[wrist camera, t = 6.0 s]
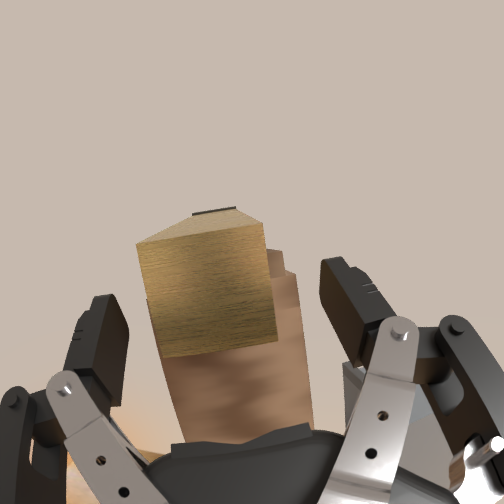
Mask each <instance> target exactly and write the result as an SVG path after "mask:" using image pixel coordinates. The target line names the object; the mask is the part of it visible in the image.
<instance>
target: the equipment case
mask: <svg viewBox="0 0 504 504" xmlns="http://www.w3.org/2000/svg"><path fill="white" fill-rule="evenodd" d="M342 366H343V381H344V397H345V422H346V428H347V425H348V423H349V420H350V418H351V415H352V412H353V409H354V406H355V404H356V401H357V398H358V395H359V392H360V389H361V385H362V382H363V379H364V376H365V373H366V370H365V368H364V367H363V368H360V369H358V368H353V366H352V364H351V362H350V361H348V362H345V363H342ZM452 458H453V455H452V452H451V450H450V448H449V445H448V443H447V441H446V439H445V436H444V434H443V432H442V430H441V428H440V425H439V423H438V421H437V419H436V417H435V415H434V413H433V411H432V408H431V406H430V404H429V402H428V400H427V398H426V396H425V394H424V392H423V390H422V388H421V386H420V384H416V390H415V396H414V401H413V406H412V411H411V416H410V420H409V425H408V429H407V433H406V437H405V441H404V445H403V449H402V453H401V456H400V460H399V463H398V466H400V467H402V468H404V469H406V470H408V471H410V472H412V473H414V474H416V475H418V476H420V477H422V478H424V479H427V480H429V481H431V482H433V483H435V484H437V485H440V486H442V487H444V488H446V489H448V490H449V487H450V480H449V464H450V462H451V460H452Z"/></svg>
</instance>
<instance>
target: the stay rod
mask: <svg viewBox="0 0 504 504" xmlns="http://www.w3.org/2000/svg"><path fill="white" fill-rule="evenodd" d="M264 238H265V237H264V231H263V224H262V223H261V222H259V221H257V220H256V219H254V218H252V217H250V216H248V215H246V214H244V213H242V212H240V211H238V210H237V209H236V206H234V207H228V208H221V209H215V210H209V211H203V212H197V213H192V216H191V217H189V218H187V219H185V220H183V221H181V222H179V223H177V224H175V225H173V226H171V227H169V228H167V229H165V230H163V231H161V232H159V233H157V234H155V235H153V236H151V237H149V238H147V239H145V240H143V241H141V242H139V243H137V244H136V247H137V252H138V257H139V263H140V267H141V272H142V277H143V281H144V285H145V290H146V294H147V299H148V303H149V307H150V311H151V315H152V319H153V323H154V327H155V330H156V334H157V338H158V341H159V345H160V348H161V352H162V355H163V358H172V357H180V356H189V355H197V354H204V353H211V352H218V351H225V350H232V349H238V348H244V347H250V346H256V345H262V344H267V343H273V342H278V333H277V325H276V318H275V310H274V303H273V295H272V288H271V281H270V273H269V266H268V259H267V252H266V245H265V239H264Z"/></svg>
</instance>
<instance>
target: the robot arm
mask: <svg viewBox="0 0 504 504" xmlns="http://www.w3.org/2000/svg"><path fill="white" fill-rule="evenodd" d="M319 295H320V300H321V304H322V306H323V308H324V310H325V312H326V314H327V316H328V318H329V320H330V322H331V324H332V326H333V328H334V330H335V332H336V334H337V336H338V338H339V340H340V342H341V344H342V346H343V348H344V350H345V352H346V354H347V356H348V358H349V360H350V362H351V364H352V366H353V368H357V367H360V366H364V368H365V370H366V373H365V376H364V379H363V382H362V385H361V389H360V392H359V395H358V398H357V401H356V404H355V406H354V409H353V412H352V415H351V418H350V420H349V423H348V425H347V428H346V430H345V433H344V435H341V434H338V433H334V432H330V431H325V430H311V428H310V425H309V422H306V423H302V424H298V425H294V426H290V427H285V428H281V429H276V430H273V431H271V432H269V433H266V434H264V435H262V436H260V437H257V438H255V439H253V440H250V441H248V442H245V443H243V444H229V443H217V442H208V441H200V442H190V443H178V444H171V453H168V454H166V455H163V456H161V457H159V458H158V459H156V460H154V461H153V462H152V463H149V462H148V461H147V460H146V459H145V458H144V457H143V456H142V455H141V454H140V453H139V452H138V450H137V449H136V448H135V447H134V446H133V444H132V443H131V442H130V440H129V439H128V438H127V437H126V436H125V434H124V433H123V431H122V430H121V429H120V427H119V426H118V425H117V423H116V422H115V421H114V419H113V418H112V417H111V415H110V408H111V407H115V406H116V407H117V406H121V400H122V389H123V380H124V371H125V364H126V355H127V348H128V342H129V328H128V325H127V322H126V319H125V317H124V315H123V313H122V311H121V309H120V306H119V304H118V302H117V300H116V297H115V296H114V295H113V294H108V295H101V296H95V297H94V298H93V301H92V304H91V307H90V310H88V311H85V312H84V313H83V314H82V316H81V317H80V318H79V319H78V321H77V324H76V327H75V330H74V331H75V333H73V337H72V341H71V343H70V347H69V350H68V353H67V357H66V360H65V364H64V368H63V371H61V372H58V373H57V374H55V375H54V376H53V377H52V378H51V379H50V381H49V382H48V384H47V387H46V389H44V390H41V391H38V392H35V393H32V394H29V393H28V392H27V391H26V390H25V389H24V388H23V387H20V386H15V387H12V388H11V389H9V390H8V391H7V392H6V393H5V394H4V396H3V398H2V401H1V404H0V504H66V472H67V451H68V452H69V454H70V456H71V458H72V459H73V461H74V463H75V464H76V466H77V468H78V470H79V471H80V473H81V474H82V476H83V478H84V479H85V481H86V482H87V484H88V486H89V487H90V489H91V490H92V492H93V493H94V495H95V496H96V498H97V499H98V500H99V502H100V503H101V504H493V503H494V502H496V501H497V500H499V499H500V498H502V497H504V372H503V370H502V369H501V367H500V365H499V364H498V363H497V361H496V359H495V358H494V356H493V355H492V353H491V352H490V351H489V349H488V348H487V346H486V345H485V343H484V342H483V341H482V339H481V338H480V336H479V335H478V333H477V332H476V331H475V329H474V328H473V327H472V325H471V324H470V323H469V322H468V321H467V320H466V319H464V318H463V317H460V316H456V315H448V316H446V317H444V318H443V319H442V320H441V322H440V324H439V327H417V326H416V325H415V323H413V322H412V321H411V320H409V319H407V318H404V317H400V316H397V315H396V314H395V312H394V311H393V309H392V308H391V307H390V305H389V304H388V303H387V301H386V300H385V298H384V297H383V296H382V294H381V293H380V291H378V289H377V287H376V286H375V285H374V284H373V283H372V281H371V279H370V278H369V277H368V275H367V274H366V273H365V272H363V271H362V270H360V269H358V268H357V267H351V268H350V267H349V266H348V264H347V263H346V262H345V261H344V259H343V258H342V257H334V258H329V259H323V260H322V261H321V270H320V287H319ZM416 384H420V386H421V388H422V390H423V392H424V394H425V396H426V398H427V400H428V402H429V404H430V406H431V408H432V411H433V413H434V415H435V417H436V419H437V421H438V423H439V425H440V428H441V430H442V432H443V434H444V436H445V439H446V441H447V443H448V445H449V448H450V450H451V452H452V455H453V458H452V460H451V462H450V464H449V480H450V487H449V490H448V489H446V488H444V487H442V486H440V485H437V484H435V483H433V482H431V481H429V480H427V479H424V478H422V477H420V476H418V475H416V474H414V473H412V472H410V471H408V470H406V469H404V468H402V467H400V466H398V463H399V460H400V456H401V453H402V449H403V445H404V441H405V437H406V433H407V429H408V425H409V420H410V416H411V411H412V406H413V401H414V396H415V390H416ZM31 438H32V439H33V440H34V445H33V454H32V463H31V464H30V461H29V454H30V446H31Z"/></svg>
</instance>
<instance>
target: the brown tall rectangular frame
mask: <svg viewBox="0 0 504 504" xmlns="http://www.w3.org/2000/svg"><path fill="white" fill-rule="evenodd" d="M266 252H267V259H268V266H269V273H270V281H271V288H272V295H273V303H274V310H275V318H276V325H277V333H278V342H273V343H267V344H262V345H256V346H250V347H244V348H238V349H232V350H225V351H218V352H211V353H204V354H197V355H189V356H180V357H172V358H163V355H162V352H161V348H160V345H159V341H158V338H157V334H156V330H155V327H154V323H153V319H152V315H151V311H150V307H149V303H148V299H146V300H147V305H148V309H149V314H150V319H151V323H152V327H153V332H154V336H155V340H156V344H157V348H158V352H159V356H160V359H161V364H162V368H163V371H164V374H165V378H166V382H167V385H168V389H169V392H170V396H171V399H172V402H173V406H174V409H175V412H176V415H177V418H178V421H179V424H180V427H181V430H182V433H183V436H184V439H185V442H186V443H190V442H200V441H208V442H217V443H229V444H243V443H245V442H248V441H250V440H253V439H255V438H257V437H260V436H262V435H264V434H266V433H269V432H271V431H273V430H276V429H281V428H285V427H290V426H294V425H298V424H302V423H306V422H309V425H310V428H311V430H314V422H313V410H312V401H311V392H310V382H309V374H308V365H307V356H306V349H305V340H304V332H303V324H302V317H301V309H300V302H299V295H298V288H297V281H296V274H294V273H292V272H289V271H287V270H285V267H284V261H283V254H282V251H279V250H272V249H266Z"/></svg>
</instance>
